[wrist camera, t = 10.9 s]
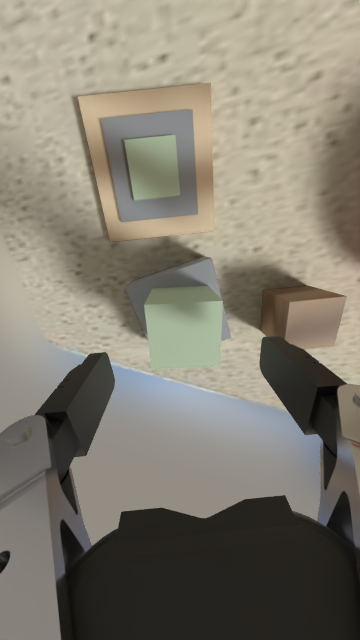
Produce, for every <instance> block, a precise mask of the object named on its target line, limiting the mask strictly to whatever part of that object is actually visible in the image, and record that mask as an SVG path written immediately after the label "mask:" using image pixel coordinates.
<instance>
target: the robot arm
mask: <svg viewBox="0 0 360 640" xmlns="http://www.w3.org/2000/svg"><path fill="white" fill-rule="evenodd" d="M260 369H261V372H262V374H263V376H264V377H265V379H266V380H267V382H268V383H269V384H270V386H271V387H272V389H273V390H274V391H275V393H276V394H277V396H278V397H279V399H280V400H281V401H282V403H283V404H284V406H285V407H286V409H287V410H288V411H289V413H290V414H291V416H292V417H293V418H294V420H295V421H296V423H297V424H298V426H299V427H300V428H301V430H302V431H303V433H304V434H305V435H311V434H318V435H319V436H320V437H321V439H322V440H321V444H320V504H319V510H318V517H317V521H316V520H314V519H312V518H310V517H308V516H305V515H303V514H300V513H297V512H294V511H292V510H291V508H290V505H289V503H288V501H287V499H286V497H285V495H284V496H274V497H264V498H255V499H245V500H243V501H241V502H239V503H237V504H235V505H233V506H231V507H229V508H227V509H225V510H223V511H221V512H219V513H217V514H215V515H213V516H211V517H208V518H198V517H195V516H190V515H187V514H183V513H179V512H176V511H172V510H168V509H164V508H154V509H144V510H134V511H124V512H121V516H120V522H119V527H118V529H116V530H113V531H112V532H110V533H109V534H107V535H106V536H104V537H103V538H102V539H100V540H99V541H98V542H97V543H95V544H94V545H93V546H92V545H91V541H90V538H89V536H88V533H87V530H86V528H85V525H84V522H83V518H82V514H81V509H80V505H79V500H78V496H77V492H76V487H75V483H74V478H73V474H72V470H71V467H70V464H71V462H72V460H73V458H74V457H80V456H86V455H87V452H88V450H89V448H90V445H91V443H92V440H93V437H94V435H95V433H96V430H97V428H98V426H99V423H100V421H101V418H102V416H103V413H104V411H105V408H106V406H107V404H108V401H109V399H110V396H111V394H112V391H113V389H114V383H115V379H114V375H113V371H112V367H111V364H110V360H109V357H108V354H107V353H106V352H103V353H93V354H89V355H88V356H87V358H86V359H85V360H84V362H83V363H82V364H81V365H78V366H77V367H76V368H74V369H73V370H71V371H70V372H69V373H68V374H67V376H66V377H65V378H64V379H63V381H62V382H61V383H60V384H59V386H58V388H57V389H55V390H54V392H53V393H52V394H51V395H50V397H49V398H48V399H47V400H46V402H45V403H44V404H43V405H42V406H41V408H40V409H39V410H38V411H37V412H36V414H35V415H33V416H28V417H25V418H23V419H21V420H19V421H17V422H15V423H13V424H12V425H10V426H9V427H7V428H6V429H5V430H4V431H2V432H1V433H0V640H360V385H354V384H347V383H345V382H344V381H343V380H342V379H340V378H339V377H338V376H336V375H335V374H334V373H333V372H331V371H330V370H329V369H328V368H326V367H325V366H324V365H323V364H321V363H319V361H317V360H316V359H315V358H314V357H312V356H311V355H310V354H309V353H307V352H306V351H305V350H304V349H301V348H299V347H297V346H295V345H293V344H290V343H288V342H287V341H286V340H285V339H284V338H282V337H281V336H270V337H264V338H263V339H262V343H261V354H260Z"/></svg>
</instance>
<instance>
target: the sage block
mask: <svg viewBox="0 0 360 640" xmlns="http://www.w3.org/2000/svg"><path fill="white" fill-rule="evenodd" d="M144 309H145V317H146V325H147V334H148V342H149V350H150V358H151V367H152V370H168V369H185V368H202V367H219V366H220V354H221V333H222V312H223V300H222V299H221V298H220V297H219V296H218V295H217V294H216V293H215V292H214V291H213V290H212V289H211V288H210V287H209V286H192V287H172V288H152V290H151V292H150V294H149V296H148V298H147V300H146V302H145V304H144Z"/></svg>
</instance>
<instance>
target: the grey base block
mask: <svg viewBox="0 0 360 640" xmlns="http://www.w3.org/2000/svg"><path fill="white" fill-rule="evenodd" d="M192 286H209V287H210V288H211V289H212V290H213V291H214V292H215V293H216V294H217V295H218V296H219V297H220V298H221V294H220V290H219V286H218V282H217V277H216V273H215V269H214V265H213V261H212V258H209V257H205V256H204V257H201V258H199V259H196V260H193V261H190V262H187V263H184V264H181V265H178V266H175V267H172V268H169V269H166V270H163V271H161V272H158V273H155V274H152V275H149V276H146V277H143V278H140V279H137V280H134V281H132V282H131V283H130V284H128V285H127V286H126V287H125V291H126V293H127V295H128V297H129V300H130V302H131V304H132V306H133V309H134V311H135V313H136V315H137V318H138V320H139V322H140V324H141V327H142V329H143V331H144V333H145V336H146V338H147V340H148V334H147V325H146V317H145V309H144V304H145V302H146V300H147V298H148V296H149V294H150V292H151V290H152V288H172V287H192ZM221 299H222V298H221ZM229 338H231V335H230V331H229V327H228V323H227V319H226V314H225V310H224V306H223V312H222V333H221V341H223V340H226V339H229Z"/></svg>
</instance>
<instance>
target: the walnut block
mask: <svg viewBox="0 0 360 640" xmlns="http://www.w3.org/2000/svg"><path fill="white" fill-rule="evenodd" d="M346 297H347V296H344V295H340V294H336V293H333V292H329V291H325V290H322V289H318V288H315V287H311V286H298V287H288V288H279V289H269V290H263V298H262V312H261V325H260V331H261V332H262V333H264V334H265V335H266V336H267V337H270V336H281V337H282V338H284V339H285V340H286V341H287V342H288V343H290V344H293V345H295V346H297V347H299V348H301V349H312V348H321V347H331V346H334V344H335V340H336V336H337V332H338V328H339V324H340V321H341V317H342V313H343V309H344V305H345V301H346Z"/></svg>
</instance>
